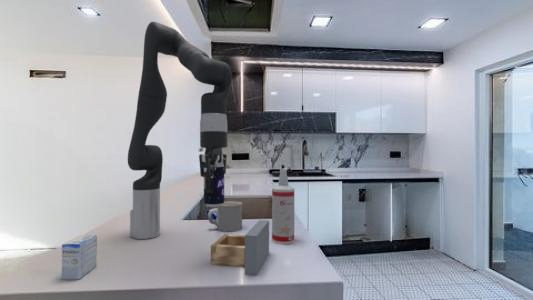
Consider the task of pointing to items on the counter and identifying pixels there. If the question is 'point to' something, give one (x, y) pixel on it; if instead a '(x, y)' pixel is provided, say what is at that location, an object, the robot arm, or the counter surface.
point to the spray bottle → (283, 211)
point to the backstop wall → (256, 247)
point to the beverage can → (216, 188)
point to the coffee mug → (227, 217)
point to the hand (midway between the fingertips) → (214, 190)
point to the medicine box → (79, 256)
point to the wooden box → (229, 250)
